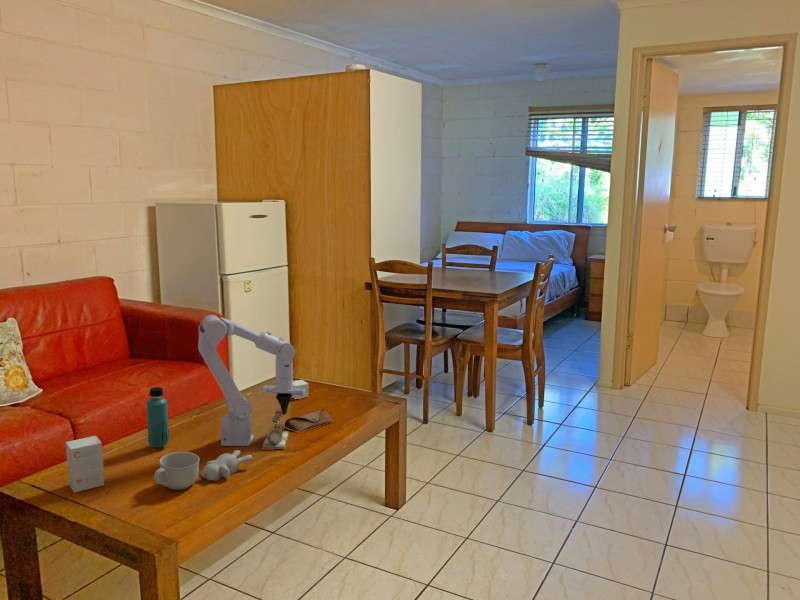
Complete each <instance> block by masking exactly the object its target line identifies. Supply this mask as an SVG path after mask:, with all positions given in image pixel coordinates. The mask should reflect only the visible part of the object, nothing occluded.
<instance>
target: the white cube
mask: <svg viewBox="0 0 800 600" xmlns="http://www.w3.org/2000/svg"><path fill="white" fill-rule="evenodd" d="M293 387H297V388H301V389H305V395H304V396H301V395H292V398H294V399H299V398H304V397H309V394H310V393H309V391H310V386H309V382H307V381H305V380H303V379H299V380H298V379H297V380H293ZM292 398H291V399H292ZM294 399H293V400H294ZM299 400H300V399H299Z"/></svg>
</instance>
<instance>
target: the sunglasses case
mask: <svg viewBox="0 0 800 600" xmlns="http://www.w3.org/2000/svg"><path fill="white" fill-rule="evenodd" d="M333 421H335V420H334V419H333V418H332V417H331V415H330V414H329V413H328V412H327V411H326V410H325V409H324V408H321V409H320V410H316V411H313V412H312V411H311V412H309V413H305V414H301V415H299V416H298V415H297V416H296V417H295V416H294V417H291V418H288V419H287V420H285V422H284V428H285V427H287V428H289V429H292V430H294V431H299V432H302V431H304V430H307V429H310V428H313V427H316V426H319V425H323V424H326V423H330V422H333Z"/></svg>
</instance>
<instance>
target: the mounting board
mask: <svg viewBox="0 0 800 600" xmlns="http://www.w3.org/2000/svg"><path fill="white" fill-rule="evenodd" d="M288 434H290V430H286V431H284V430H283V439H282V441H280V442H279V443H278V444H277V445H274V446H273V445H271V444H270V443H269V441H268V432H267V434H266V436H265V438H264V441H263V445H262V448H261V449H284V450H285V448H286V445H285V444H287V442H286V441H288V438H289V435H288ZM287 437H288V438H287ZM284 447H285V448H284Z"/></svg>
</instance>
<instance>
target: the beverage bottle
mask: <svg viewBox="0 0 800 600" xmlns="http://www.w3.org/2000/svg"><path fill="white" fill-rule="evenodd" d="M148 394H149V397H150V398H149V399H148V400H147V401H146V403H145V404H146V415H147V416H146V419H147V442H148V445H149V446H150V447H153V448H154V447H155V448H159V447H165V446H167V445H168V444H169V442H170V429H169V413H168V412H169V411H168V400H167V399H166V398H164V397H163V395H164V391H163V388H162V387H160V386H158V387H156V386H155V387H151V388H150V389H149V393H148Z"/></svg>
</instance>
